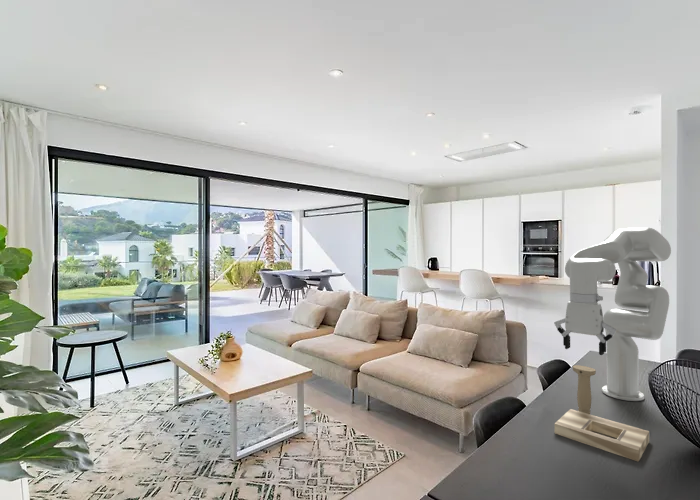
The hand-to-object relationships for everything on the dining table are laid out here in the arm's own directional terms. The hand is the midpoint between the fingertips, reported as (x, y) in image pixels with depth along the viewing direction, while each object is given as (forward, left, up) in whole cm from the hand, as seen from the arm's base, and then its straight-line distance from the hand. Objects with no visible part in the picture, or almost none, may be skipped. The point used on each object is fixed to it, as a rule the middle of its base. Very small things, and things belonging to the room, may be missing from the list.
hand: (584, 351), depth 120 cm
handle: (-3, -1, -22) cm, 22 cm away
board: (+11, +7, -21) cm, 25 cm away
